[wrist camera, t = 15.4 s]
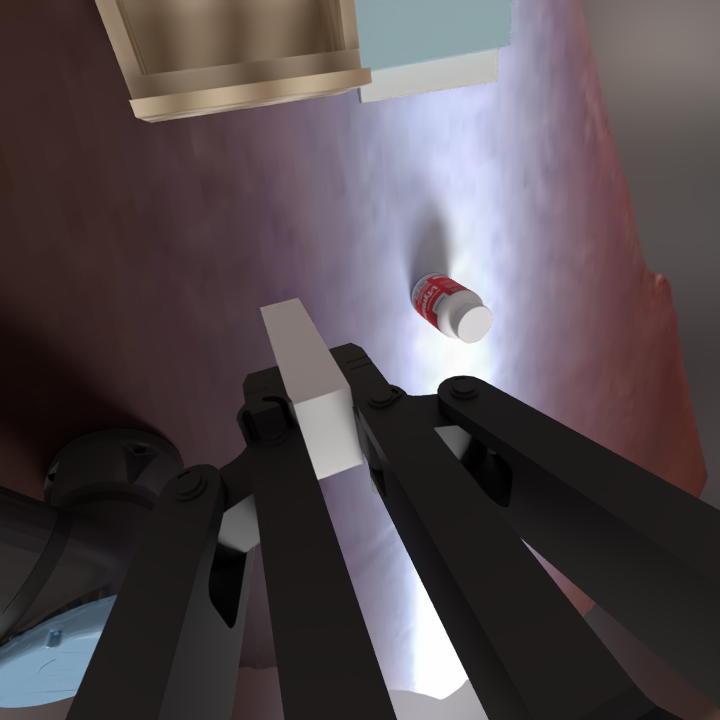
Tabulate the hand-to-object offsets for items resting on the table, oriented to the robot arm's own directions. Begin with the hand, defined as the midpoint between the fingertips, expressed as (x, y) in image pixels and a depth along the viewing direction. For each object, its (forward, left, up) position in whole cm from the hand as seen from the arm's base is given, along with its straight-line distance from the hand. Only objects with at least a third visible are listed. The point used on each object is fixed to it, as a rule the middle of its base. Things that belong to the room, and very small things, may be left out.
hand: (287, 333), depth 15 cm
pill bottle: (+22, -15, -31) cm, 41 cm away
